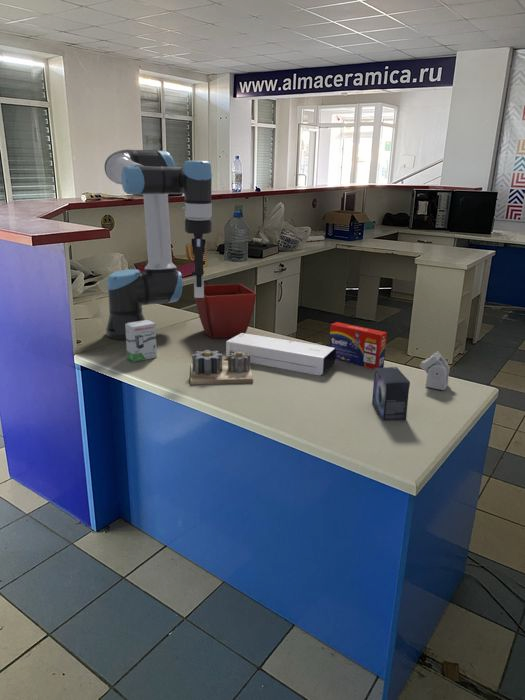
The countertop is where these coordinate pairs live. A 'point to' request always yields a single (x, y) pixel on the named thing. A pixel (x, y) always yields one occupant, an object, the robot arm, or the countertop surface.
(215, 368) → the planet gear
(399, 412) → the small box
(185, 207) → the robot arm
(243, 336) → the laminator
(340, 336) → the toy box
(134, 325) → the ink box
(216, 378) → the gear puzzle board
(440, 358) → the mechanical component
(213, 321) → the plant pot
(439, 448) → the countertop surface
